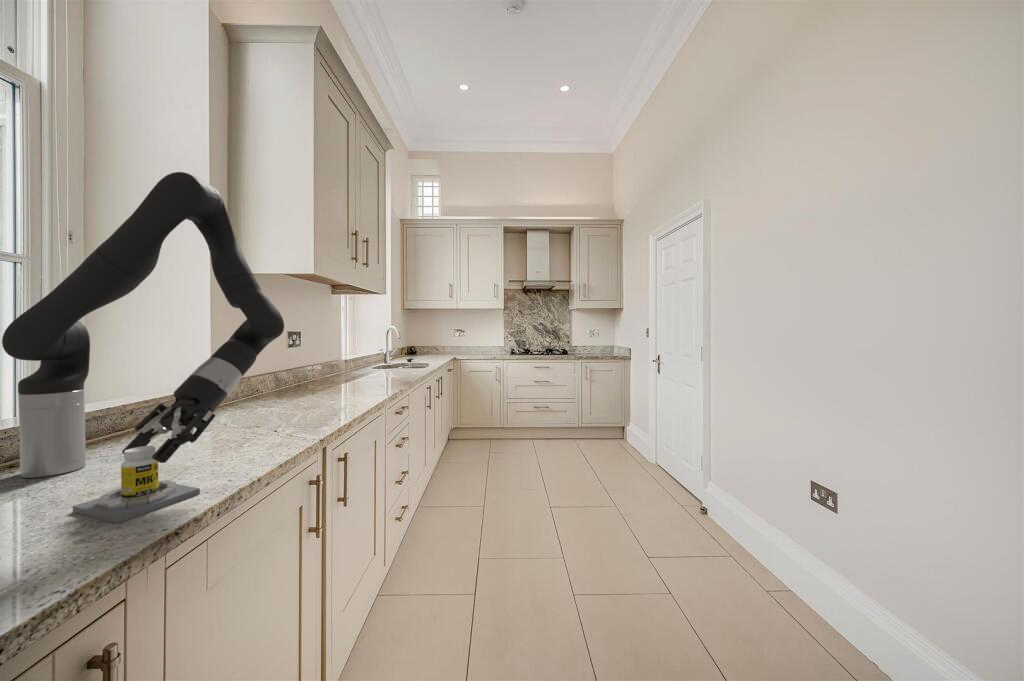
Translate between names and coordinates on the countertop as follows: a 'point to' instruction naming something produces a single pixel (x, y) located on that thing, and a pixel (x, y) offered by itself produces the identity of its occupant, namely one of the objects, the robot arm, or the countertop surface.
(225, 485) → the countertop surface
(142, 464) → the supplement bottle
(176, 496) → the slate board
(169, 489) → the ring collar
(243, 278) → the robot arm
